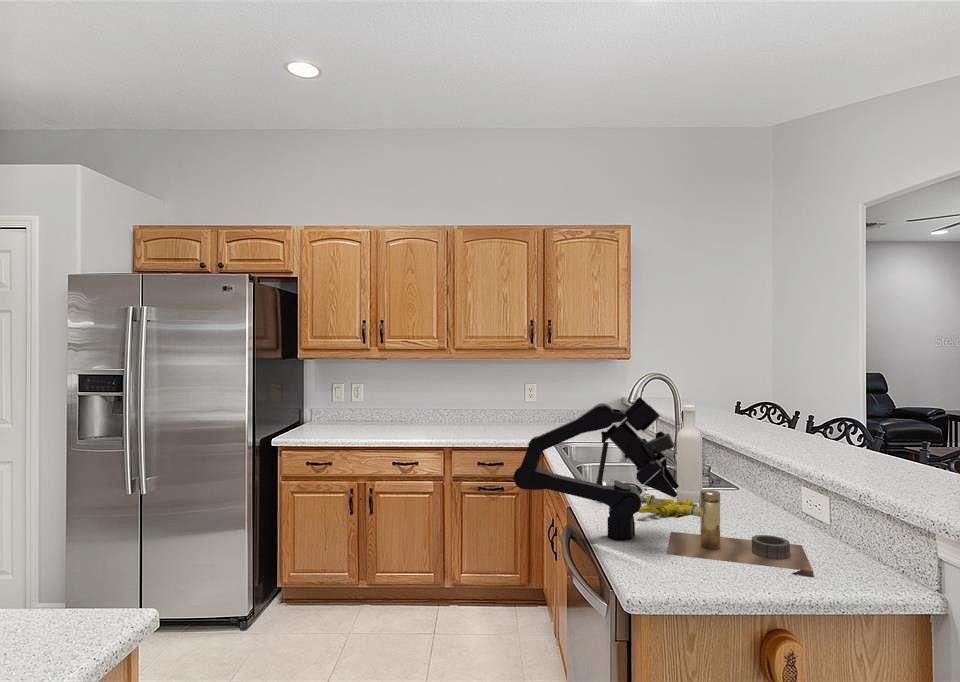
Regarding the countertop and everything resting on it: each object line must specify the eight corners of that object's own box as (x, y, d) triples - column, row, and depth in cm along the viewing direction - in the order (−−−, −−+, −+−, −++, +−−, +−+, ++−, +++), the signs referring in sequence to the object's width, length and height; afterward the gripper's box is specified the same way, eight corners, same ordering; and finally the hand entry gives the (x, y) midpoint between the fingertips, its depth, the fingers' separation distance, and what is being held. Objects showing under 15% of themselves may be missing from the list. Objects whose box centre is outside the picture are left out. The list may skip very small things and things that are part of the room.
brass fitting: (712, 551, 142) (712, 495, 142) (696, 545, 145) (696, 491, 146) (724, 547, 144) (723, 492, 144) (707, 542, 148) (707, 489, 148)
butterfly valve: (644, 496, 197) (592, 491, 197) (655, 440, 191) (601, 435, 191) (651, 511, 189) (596, 506, 189) (662, 454, 183) (605, 448, 183)
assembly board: (666, 559, 140) (666, 540, 140) (670, 536, 157) (670, 519, 157) (813, 576, 129) (813, 557, 129) (801, 550, 146) (801, 532, 146)
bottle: (708, 500, 192) (708, 406, 193) (688, 503, 189) (688, 407, 190) (690, 495, 200) (690, 403, 200) (671, 497, 197) (671, 404, 197)
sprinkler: (725, 514, 177) (659, 501, 190) (725, 492, 177) (659, 481, 189) (699, 540, 160) (628, 523, 173) (699, 516, 160) (628, 501, 172)
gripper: (651, 426, 141) (701, 478, 137) (656, 417, 159) (701, 463, 155) (616, 458, 144) (665, 509, 140) (625, 446, 161) (669, 491, 157)
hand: (676, 491), depth 148 cm, fingers open, 9 cm apart
